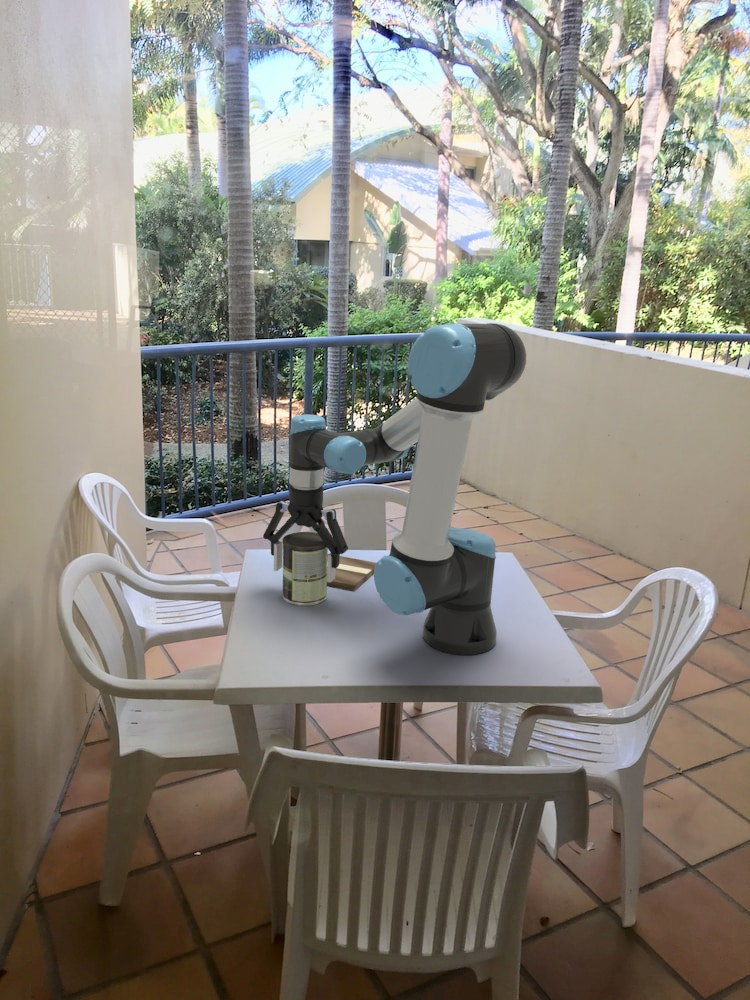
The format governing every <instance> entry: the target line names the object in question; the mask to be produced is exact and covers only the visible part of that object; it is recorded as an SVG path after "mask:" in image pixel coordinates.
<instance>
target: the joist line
mask: <svg viewBox="0 0 750 1000" xmlns="http://www.w3.org/2000/svg"><path fill="white" fill-rule="evenodd" d="M327 567H328V561H327ZM336 569H340V570H345V571H350V572H356V573H361V574H366V575H367V574H368V573H369V572H370V571H371V570H370V569H365V568H359V567H354V566H349V565H343V564H339V566H338V567H337V568H336Z"/></svg>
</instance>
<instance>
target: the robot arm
mask: <svg viewBox="0 0 750 1000" xmlns="http://www.w3.org/2000/svg"><path fill="white" fill-rule="evenodd" d="M526 364H527V351H526V347H525V344H524V341H523V340H522V338H521V337H520V335H518V333H517V332H516V331H515V330H513V329H512V328H510V327H509V326H506V325H503V324H501V323H500V324H499V323H490V322H489V323H457V322H456V323H455V322H448V323H445V324H439V325H438V324H437V325H434V326H431V327H429V328H427V329H426V330H425V331H423V332H421V334H420V335H419V336H418V337H417V338H416V340H415V341H414V343H413V345H412V347H411V350H410V352H409V356H408V362H407V372H408V375H409V377H411V379H410V383H411V386H412V387H413V388H414V390H415V391H416V393H417V394H416V398H414V399H413V400H412V401H410V402H409V403H408V404H406V405H405V406H404V407H402V408H401V409H399V410H398V411H397V412H395V413H394V414H393V415H391V416H390V417H389V418H387V419H386V420H385V421H383V422H382V423H380V424H379V425H378V426H377V427H375V428H369V429H361V430H354V431H346V432H334V431H330V430H327V426H326V425H327V424H326V419H325V418H324V417H323V416H322V415H318V414H309V413H308V414H307V413H306V414H304V413H303V414H298V415H293V417H292V418H291V420H290V431H289V432H290V433H289V434H288V435H289V473H288V474H289V476H288V477H289V478H288V480H289V481H288V483H289V484H290V486H289V487H288V490H289V491H288V501H289V503H287V502H286V500H281V501H279V502H277V503H276V504H275V511H274V514H273V516H272V518H271V519H270V522H269V523H268V526H267V528H266V529H265V531H264V533H263V535H262V536H263V539H264V540H268V541H270V554H271V556H272V557H273V571H274V572H278V571H279V570H280V569H283V540H280V539H281V538H283V537H284V535H286V533H288V531H289V530H290V529H291V528H292V527H293V526H294V525H297V526H299V527H303V526H304V527H306V528H312V529H313V531H315V533H318V534H319V536H320V537H321V539H322V540H323V542H324V543H325V545H326V546H327V548H328V551H329V552H330V553H328V570H327V582H331V581H333V580H334V579H335V570H336V568H337V567H338V566H339V559H340V556H341V555H343V554H344V553H346V552H347V551H348V550H349V546H348V544H347V542H346V539H345V537H344V533H343V531H342V529H341V527H340V525H339V522H338V519H337V511H336V509H335V508H332V509H331V510H326V509H324V507H323V504H324V486H323V485H324V482H325V481H324V479H325V478H324V476H325V475H324V473H325V470H324V469H325V468H327V469H329V470H331V471H333V472H336V473H340V474H345V475H351V474H352V475H353V474H356V473H357V472H359V470H360V469H362V467H364V466H369V465H373V464H374V465H376V464H381V463H390V462H395V461H398V460H401V459H404V458H405V457H406V456H407V455H408V452H409V451H410V449H411V447H412V446H414V444H416V443H417V444H416V450H415V456H414V461H413V467H412V473H411V479H410V484H409V490H408V491H409V492H408V495H407V502H406V507H405V514H404V518H403V524H402V528H401V529H402V530H400V531H399V532H397V533H395V535H393V537H392V539H391V540H392V541H391V546H390V553H389V555H384V556H383V557H380V559H379V560H378V561H377V562H375V563H376V565H375V569H374V574H373V580H374V585H375V588H376V591H377V593H378V595H379V597H380V599H381V600H382V602H383V603H384V605H386V607H387V609H389V610H391V612H393V613H395V614H397V615H400V616H409V615H410V616H411V615H414V614H420V613H422V612H424V611H426V610H429V611H428V613H427V615H426V618H425V619H424V620H425V621H424V622H423V627H422V637H423V640H424V641H425V642H426V643H427V644H428V645H429V646H431V648H434V649H436V650H438V651H440V652H441V651H442V652H444V653H448V654H455V655H463V656H466V655H467V656H469V655H478V654H483V653H485V652H488V651H490V650H492V648H494V646H495V645H496V643H497V633H498V632H497V628H496V623H495V620H494V615H493V612H492V611H493V610H492V606H491V605H492V604H491V603H492V593H493V583H494V575H495V574H494V572H495V563H496V559H497V556H496V542H495V541H494V539H493V538H492V537H491V536H490V535H488V534H485V533H483V532H480V531H478V530H473V529H469V528H462V527H451V525H452V520H453V516H454V515H453V514H454V510H455V507H456V502H457V495H458V492H459V491H458V490H459V486H460V481H461V476H462V471H463V465H464V462H465V456H466V451H467V447H468V441H469V439H470V438H469V437H470V431H471V426H472V422H473V419H474V418H475V417H476V416H478V415H479V414H481V413H482V412H483V411H484V408H485V403H486V401H487V402H488V401H491V400H493V399H495V398H496V397H497V396H499V395H501V394H502V393H504V392H505V391H507V390H508V389H510V388H511V387H512V386H514V385H515V384H516V383H518V381H519V379H520V378H521V377H522V375H523V372H524V371H525V368H526ZM287 511H288V513H289V515H290V517H289V518H288V519H287V520H286V521H285V522H284V524H283V525H282V526H281V527H280V528H279V529H278V530H277V531H276V529H277V528H278V526H279V524H280V522H281V520H282V518H283V516H284V514H285V512H287ZM323 517H324V520H325V521H326V523H327V526H328V528H329V529H328V528H327V526H326V524H325V522H324V520H323Z"/></svg>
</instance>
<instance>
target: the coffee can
mask: <svg viewBox="0 0 750 1000" xmlns="http://www.w3.org/2000/svg"><path fill="white" fill-rule="evenodd" d="M282 541H283V556H282V599H283V601H285V602H286V603H288V604H291V605H294V604H295V606H301V605H303V607H305V606H306V607H308V606H313V605H319V604H321V603H323V602H324V601H325V600H326V599H327V598H328V597H327V596H328V594H327V590H328V589H327V588H328V586H327V556H328V554H329V553H328V551H329V549H328V548H327V546H326V545H325V543H324V542H323V540H322V539H321V537H320V536H319V534H318V533H317V532H312V531H299V532H298V531H297V532H293V533H289V534H287V535H286V534H285V536H283V537H282Z"/></svg>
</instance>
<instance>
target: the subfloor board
mask: <svg viewBox="0 0 750 1000" xmlns="http://www.w3.org/2000/svg"><path fill="white" fill-rule="evenodd" d="M327 561H328V556H327ZM376 563H377V562H375V561H369V560H364V559H360V558H359V559H357V558H352V557H347V556H342V555H340V559H339V564H343V565H349V566H354V567H359V568H365V569H370V570H371V571H370V572H369V573H368V574H367V575H366V574H361V573H356V572H350V571H345V570H340V569H336V570H335V579H334V580H333V581H331V582H327V587H331V588H335V587H336V589H340V588H341V590H346V591H351V592H356V590H358V589H359V588H360V587H361V586H362V585H363V584H364V583H366V581H367V580H369V579H370V578H371V577H372V576H374V569H375V565H376ZM327 570H328V567H327Z"/></svg>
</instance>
